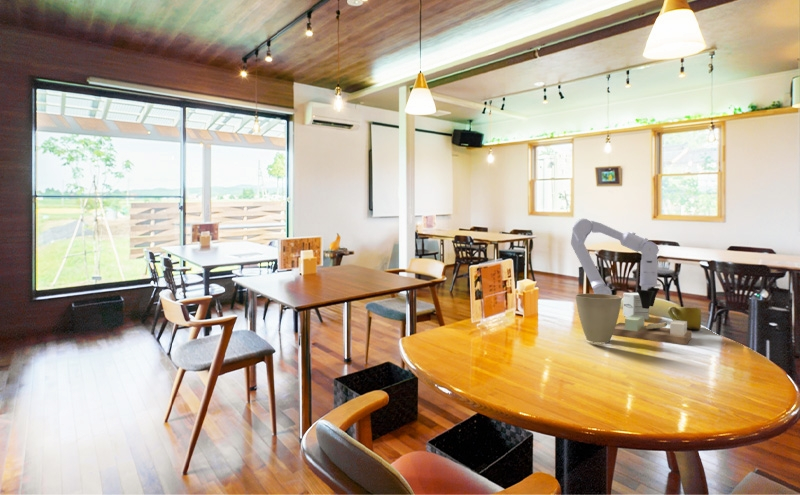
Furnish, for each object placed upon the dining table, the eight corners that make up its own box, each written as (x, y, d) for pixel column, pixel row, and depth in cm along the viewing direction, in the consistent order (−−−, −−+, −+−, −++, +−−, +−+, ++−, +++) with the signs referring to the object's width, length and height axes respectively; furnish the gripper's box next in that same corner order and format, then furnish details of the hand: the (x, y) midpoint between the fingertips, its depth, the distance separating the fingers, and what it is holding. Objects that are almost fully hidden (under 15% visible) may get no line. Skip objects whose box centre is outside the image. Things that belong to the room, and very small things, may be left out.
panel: (610, 334, 162) (610, 323, 162) (619, 328, 173) (619, 318, 173) (686, 344, 147) (686, 332, 146) (691, 337, 157) (691, 326, 157)
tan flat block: (646, 329, 158) (645, 326, 158) (649, 326, 162) (648, 324, 162) (664, 327, 154) (664, 324, 155) (667, 324, 158) (666, 322, 158)
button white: (670, 334, 151) (670, 323, 151) (673, 330, 157) (673, 319, 157) (683, 336, 149) (683, 324, 149) (686, 332, 155) (687, 321, 155)
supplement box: (622, 321, 188) (622, 292, 188) (637, 321, 189) (638, 292, 189) (633, 324, 181) (633, 294, 181) (649, 324, 182) (649, 294, 182)
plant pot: (620, 338, 156) (620, 294, 156) (622, 347, 143) (622, 299, 142) (575, 334, 162) (576, 292, 162) (573, 342, 149) (574, 297, 148)
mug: (692, 328, 173) (692, 304, 173) (707, 334, 163) (708, 308, 163) (660, 328, 175) (660, 303, 174) (673, 333, 164) (674, 307, 164)
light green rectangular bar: (624, 329, 159) (625, 319, 159) (632, 324, 168) (632, 314, 168) (636, 331, 156) (637, 320, 156) (644, 326, 165) (644, 315, 165)
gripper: (656, 274, 159) (655, 310, 159) (664, 272, 170) (663, 306, 170) (635, 273, 164) (634, 308, 164) (644, 270, 175) (643, 304, 175)
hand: (647, 307), depth 167 cm, fingers open, 7 cm apart
